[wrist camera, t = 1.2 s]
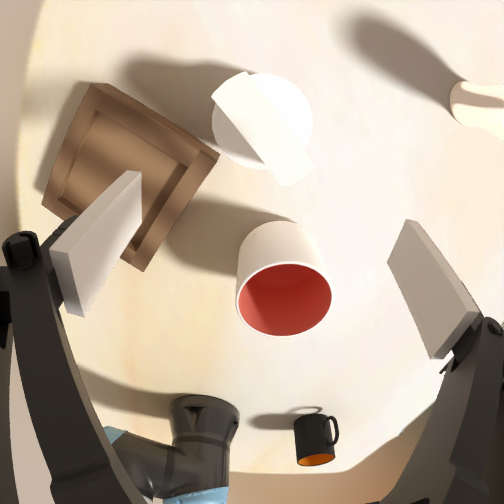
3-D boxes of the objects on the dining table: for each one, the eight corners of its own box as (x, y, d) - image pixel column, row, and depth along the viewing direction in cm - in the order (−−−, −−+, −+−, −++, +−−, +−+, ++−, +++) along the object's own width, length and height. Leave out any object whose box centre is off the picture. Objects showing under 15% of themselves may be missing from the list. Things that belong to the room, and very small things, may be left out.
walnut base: (152, 254, 39) (143, 272, 35) (58, 192, 34) (41, 204, 30) (220, 154, 32) (216, 162, 29) (107, 83, 28) (90, 84, 24)
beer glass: (449, 130, 30) (531, 163, 17) (442, 77, 26) (530, 87, 13) (485, 128, 29) (564, 160, 16) (480, 78, 26) (564, 94, 13)
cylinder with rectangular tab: (318, 126, 31) (351, 146, 20) (252, 171, 34) (252, 212, 23) (269, 61, 27) (279, 44, 17) (201, 110, 30) (175, 120, 20)
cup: (224, 237, 38) (216, 286, 29) (299, 203, 35) (314, 244, 27) (260, 295, 42) (262, 348, 33) (327, 267, 40) (345, 317, 31)
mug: (347, 409, 59) (355, 448, 50) (313, 431, 64) (318, 467, 55) (319, 402, 57) (325, 445, 48) (286, 426, 62) (289, 464, 53)
